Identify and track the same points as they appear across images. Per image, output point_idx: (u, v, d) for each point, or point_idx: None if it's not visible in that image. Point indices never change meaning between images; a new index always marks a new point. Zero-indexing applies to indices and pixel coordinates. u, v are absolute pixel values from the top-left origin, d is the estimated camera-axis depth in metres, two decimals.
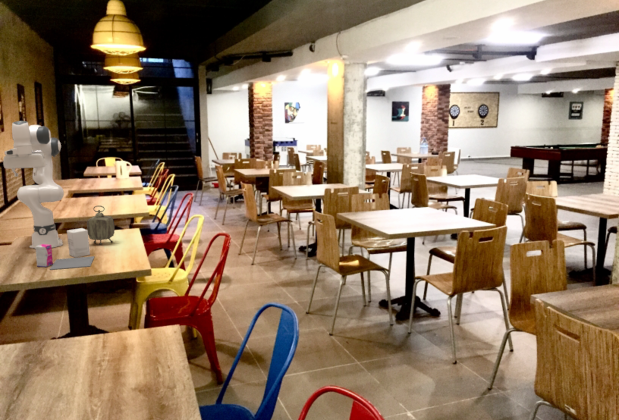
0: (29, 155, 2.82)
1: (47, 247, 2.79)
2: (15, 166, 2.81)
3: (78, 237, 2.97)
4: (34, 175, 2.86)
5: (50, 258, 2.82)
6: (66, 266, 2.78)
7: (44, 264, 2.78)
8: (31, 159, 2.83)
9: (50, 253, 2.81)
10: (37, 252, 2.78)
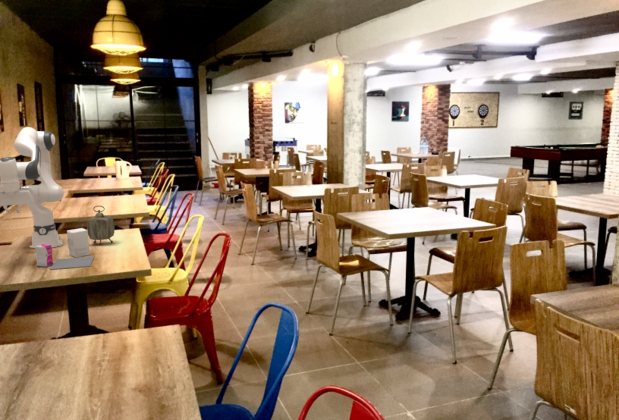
0: (16, 192, 2.75)
1: (47, 247, 2.79)
2: (2, 203, 2.74)
3: (78, 237, 2.97)
4: (17, 212, 2.78)
5: (50, 258, 2.82)
6: (66, 266, 2.78)
7: (44, 264, 2.78)
8: (19, 196, 2.76)
9: (50, 253, 2.81)
10: (37, 252, 2.78)
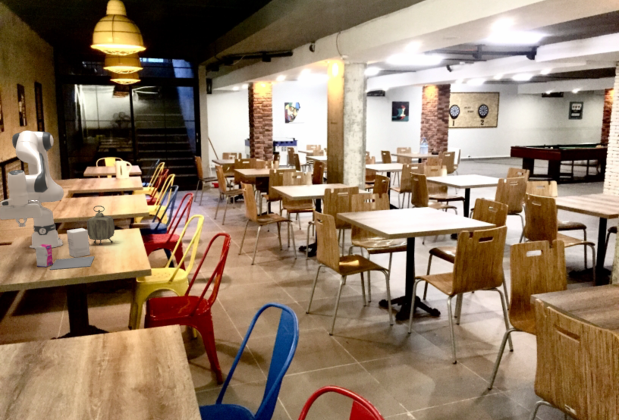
0: (25, 205, 2.72)
1: (47, 247, 2.79)
2: (11, 217, 2.71)
3: (78, 237, 2.97)
4: (22, 226, 2.74)
5: (50, 258, 2.82)
6: (66, 266, 2.78)
7: (44, 264, 2.78)
8: (27, 209, 2.73)
9: (50, 253, 2.81)
10: (37, 252, 2.78)
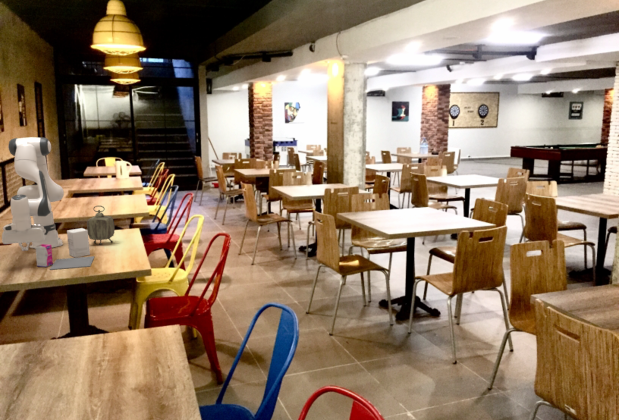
0: (28, 230, 2.75)
1: (47, 247, 2.79)
2: (14, 241, 2.74)
3: (78, 237, 2.97)
4: (25, 250, 2.77)
5: (50, 258, 2.82)
6: (66, 266, 2.78)
7: (44, 264, 2.78)
8: (30, 234, 2.75)
9: (50, 253, 2.81)
10: (37, 252, 2.78)
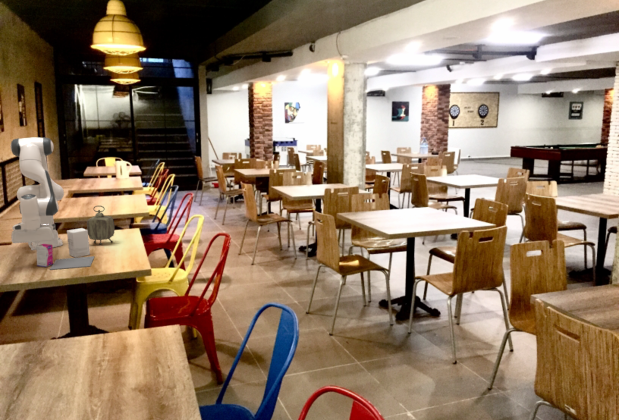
0: (37, 229, 2.76)
1: (48, 247, 2.79)
2: (23, 241, 2.75)
3: (78, 237, 2.97)
4: (34, 249, 2.78)
5: (51, 258, 2.82)
6: (66, 266, 2.78)
7: (44, 264, 2.78)
8: (39, 233, 2.76)
9: (50, 253, 2.81)
10: (38, 252, 2.78)
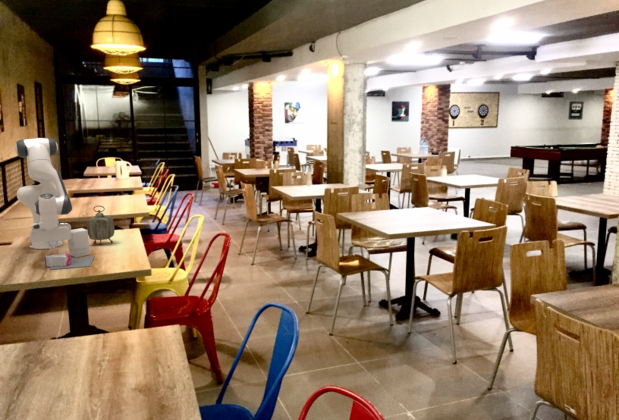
0: (56, 228, 2.78)
1: None
2: (42, 240, 2.77)
3: (78, 237, 2.97)
4: (52, 248, 2.81)
5: None
6: (66, 266, 2.78)
7: (48, 265, 2.78)
8: (58, 232, 2.79)
9: None
10: (59, 258, 2.77)
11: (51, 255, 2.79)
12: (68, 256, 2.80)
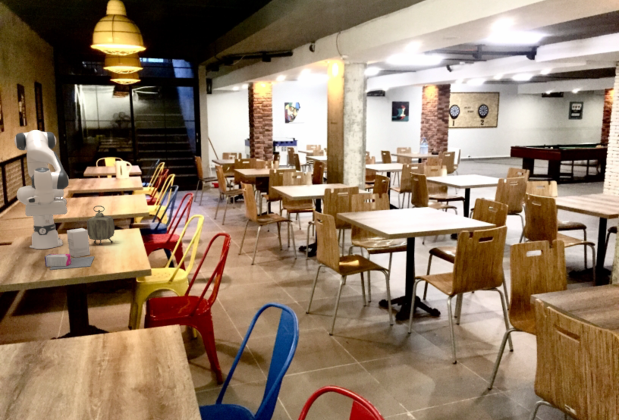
0: (51, 202, 2.76)
1: None
2: (37, 214, 2.75)
3: (78, 237, 2.97)
4: (48, 223, 2.79)
5: None
6: (66, 266, 2.78)
7: (48, 265, 2.78)
8: (53, 206, 2.77)
9: None
10: (59, 258, 2.77)
11: (51, 255, 2.79)
12: (68, 256, 2.80)
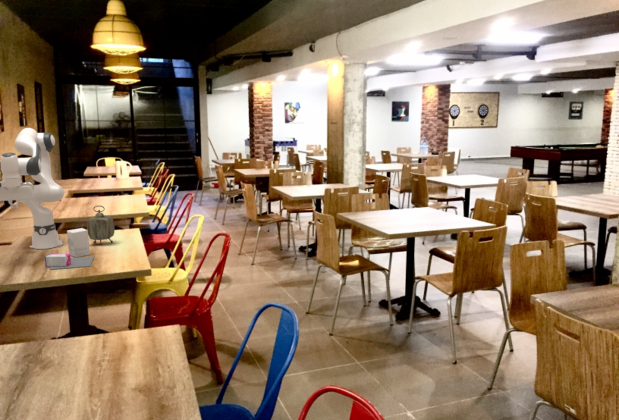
0: (18, 187, 2.79)
1: None
2: (4, 198, 2.78)
3: (78, 237, 2.97)
4: None
5: None
6: (66, 266, 2.78)
7: (48, 265, 2.78)
8: (20, 191, 2.80)
9: None
10: (59, 258, 2.77)
11: (51, 255, 2.79)
12: (68, 256, 2.80)
